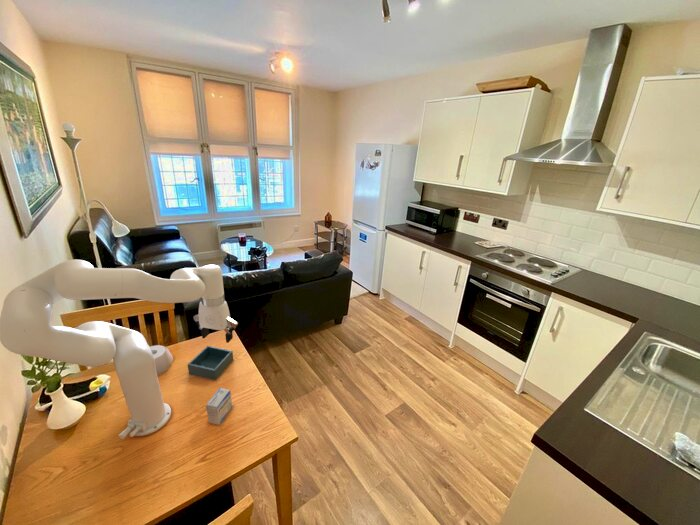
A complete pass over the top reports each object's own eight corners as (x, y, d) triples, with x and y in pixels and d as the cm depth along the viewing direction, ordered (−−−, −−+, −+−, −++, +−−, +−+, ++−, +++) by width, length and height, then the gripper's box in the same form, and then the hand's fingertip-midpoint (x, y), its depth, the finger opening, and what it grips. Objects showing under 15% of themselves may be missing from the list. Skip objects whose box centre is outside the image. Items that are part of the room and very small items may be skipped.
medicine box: (219, 425, 100) (217, 407, 97) (208, 422, 101) (205, 404, 97) (232, 407, 107) (230, 389, 104) (222, 404, 108) (219, 387, 105)
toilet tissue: (177, 355, 130) (174, 339, 127) (161, 377, 118) (157, 360, 115) (156, 354, 129) (152, 339, 126) (138, 376, 117) (133, 360, 114)
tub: (215, 380, 118) (214, 370, 116) (189, 374, 120) (187, 364, 118) (233, 359, 130) (232, 350, 128) (208, 354, 132) (207, 345, 130)
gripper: (183, 300, 100) (190, 340, 106) (229, 308, 98) (233, 348, 104) (197, 290, 107) (203, 329, 113) (241, 297, 104) (243, 336, 111)
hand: (217, 338), depth 108 cm, fingers open, 9 cm apart
